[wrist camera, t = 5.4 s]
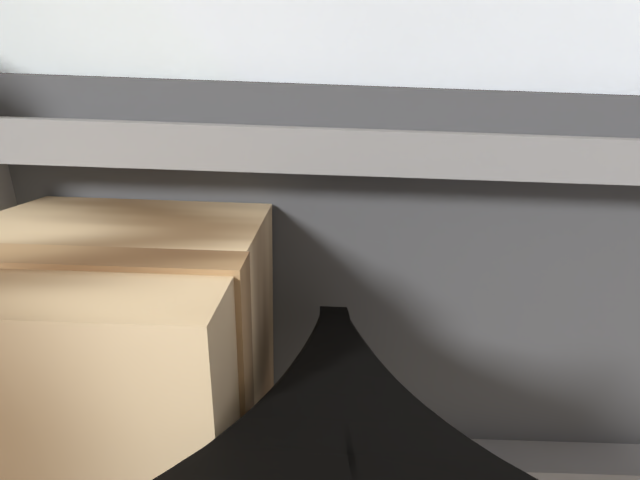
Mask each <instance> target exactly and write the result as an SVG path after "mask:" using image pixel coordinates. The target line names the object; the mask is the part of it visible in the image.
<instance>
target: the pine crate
mask: <svg viewBox="0 0 640 480" xmlns="http://www.w3.org/2000/svg"><path fill="white" fill-rule="evenodd" d="M273 386H274V367H273V257H272V204H263V203H234V202H204V201H175V200H145V199H115V198H86V197H56V196H46V197H42V198H39V199H36V200H33V201H30V202H27V203H24V204H20V205H17V206H14V207H11V208H8V209H5V210H1V211H0V480H152V479H154V478H155V477H157V476H159V475H160V474H162V473H164V472H165V471H167V470H169V469H170V468H172V467H173V466H175V465H176V464H178V463H180V462H181V461H183V460H184V459H186V458H187V457H189V456H190V455H192V454H194V453H195V452H197V451H198V450H200V449H201V448H203V447H204V446H206V445H207V444H208V443H210V442H211V441H212V440H214V439H215V438H216V437H217V436H219V435H220V434H221V433H222V432H224V431H225V430H226V429H227V428H229V427H230V426H231V425H232V424H234V423H235V422H236V421H237V420H239V419H240V418H241V417H242V416H243V415H244V414H246V413H247V412H248V411H249V410H250V409H251V408H252V407H253V406H254V405H255V404H256V403H257V402H258V401H259V400H260V399H261V398H262V397H263V396H264V395H265V394H266V393H267V392H268V391H269V390H270V389H271V388H272V387H273Z"/></svg>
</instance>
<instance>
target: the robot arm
mask: <svg viewBox="0 0 640 480" xmlns="http://www.w3.org/2000/svg"><path fill="white" fill-rule="evenodd" d="M152 480H538V479H536V478H535V477H533V476H531V475H529V474H528V473H526V472H524V471H522V470H521V469H519V468H517V467H515V466H513V465H512V464H510V463H508V462H506V461H505V460H503V459H501V458H499V457H498V456H496V455H494V454H493V453H491V452H490V451H488V450H487V449H485V448H484V447H482V446H481V445H479V444H478V443H476V442H475V441H473V440H471V439H470V438H468V437H467V436H465V435H464V434H463V433H461V432H460V431H458V430H457V429H456V428H454V427H453V426H451V425H450V424H449V423H447V422H446V421H445V420H443V419H442V418H441V417H439V416H438V415H437V414H436V413H434V412H433V411H432V410H431V409H429V408H428V407H427V406H425V405H424V404H423V403H422V402H421V401H420V400H418V399H417V398H416V397H415V396H414V395H413V394H412V393H411V392H409V391H408V390H407V389H406V388H405V387H404V386H403V385H402V384H401V383H400V382H399V381H398V380H397V379H396V378H395V377H394V376H393V375H392V374H391V373H390V372H389V370H388V369H387V368H386V367H385V366H384V365H383V364H382V362H381V361H380V360H379V359H378V358H377V356H376V355H375V354H374V353H373V351H372V350H371V349H370V347H369V346H368V345H367V343H366V342H365V341H364V339H363V338H362V337H361V335H360V334H359V332H358V331H357V329H356V328H355V326H354V325H353V323H352V321H351V320H350V316H349V312H348V309H347V307H329V306H320V315H319V318H318V320H317V323H316V325H315V327H314V329H313V331H312V333H311V335H310V336H309V338H308V340H307V342H306V343H305V345H304V347H303V348H302V350H301V351H300V353H299V354H298V355H297V357H296V358H295V360H294V361H293V362H292V364H291V365H290V367H289V368H288V369H287V370H286V372H285V373H284V374H283V375H282V377H281V378H280V379H279V380H278V381H277V382H276V384H275V385H274V386H273V387H272V388H271V389H270V390H269V391H268V392H267V393H266V394H265V395H264V396H263V397H262V398H261V399H260V400H259V401H258V402H257V403H256V404H255V405H254V406H253V407H252V408H251V409H250V410H249V411H248V412H247V413H246V414H244V415H243V416H242V417H241V418H240V419H239V420H237V421H236V422H235V423H234V424H232V425H231V426H230V427H229V428H227V429H226V430H225V431H224V432H222V433H221V434H220V435H219V436H217V437H216V438H215V439H214V440H212V441H211V442H210V443H208V444H207V445H206V446H204V447H203V448H201V449H200V450H198V451H197V452H195V453H194V454H192V455H190V456H189V457H187V458H186V459H184V460H183V461H181V462H180V463H178V464H176V465H175V466H173V467H172V468H170V469H169V470H167V471H165V472H164V473H162V474H160V475H159V476H157V477H155V478H154V479H152Z"/></svg>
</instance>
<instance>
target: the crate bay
mask: <svg viewBox="0 0 640 480" xmlns="http://www.w3.org/2000/svg"><path fill="white" fill-rule="evenodd" d="M46 196H56V197H86V198H115V199H145V200H175V201H204V202H234V203H263V204H272V257H273V367H274V385H275V384H276V382H277V381H278V380H279V379H280V378H281V377H282V375H283V374H284V373H285V372H286V370H287V369H288V368H289V367H290V365H291V364H292V362H293V361H294V360H295V358H296V357H297V355H298V354H299V353H300V351H301V350H302V348H303V347H304V345H305V343H306V342H307V340H308V338H309V336H310V335H311V333H312V331H313V329H314V327H315V325H316V323H317V320H318V318H319V315H320V306H329V307H347V309H348V312H349V316H350V320H351V321H352V323H353V325H354V326H355V328H356V329H357V331H358V332H359V334H360V335H361V337H362V338H363V339H364V341H365V342H366V343H367V345H368V346H369V347H370V349H371V350H372V351H373V353H374V354H375V355H376V356H377V358H378V359H379V360H380V361H381V362H382V364H383V365H384V366H385V367H386V368H387V369H388V370H389V372H390V373H391V374H392V375H393V376H394V377H395V378H396V379H397V380H398V381H399V382H400V383H401V384H402V385H403V386H404V387H405V388H406V389H407V390H408V391H409V392H411V393H412V394H413V395H414V396H415V397H416V398H417V399H418V400H420V401H421V402H422V403H423V404H424V405H425V406H427V407H428V408H429V409H431V410H432V411H433V412H434V413H436V414H437V415H438V416H439V417H441V418H442V419H443V420H445V421H446V422H447V423H449V424H450V425H451V426H453V427H454V428H456V429H457V430H458V431H460V432H461V433H463V434H464V435H465V436H467V437H468V438H470V439H471V440H473V441H475V442H476V443H478V444H479V445H481V446H482V447H484V448H485V449H487V450H488V451H490V452H491V453H493V454H494V455H496V456H498V457H499V458H501V459H503V460H505V461H506V462H508V463H510V464H512V465H513V466H515V467H517V468H519V469H521V470H522V471H524V472H526V473H528V474H529V475H531V476H533V477H535V478H536V479H538V480H640V96H638V95H610V94H582V93H553V92H525V91H497V90H469V89H440V88H412V87H384V86H355V85H327V84H299V83H271V82H242V81H214V80H186V79H158V78H129V77H101V76H73V75H45V74H16V73H0V211H1V210H5V209H8V208H11V207H14V206H17V205H20V204H24V203H27V202H30V201H33V200H36V199H39V198H42V197H46Z"/></svg>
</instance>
